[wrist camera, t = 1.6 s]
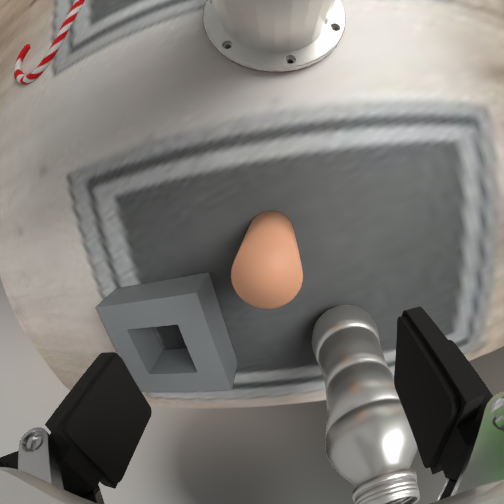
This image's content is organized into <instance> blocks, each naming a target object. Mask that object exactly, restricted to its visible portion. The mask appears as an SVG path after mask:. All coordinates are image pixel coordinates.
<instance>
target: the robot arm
mask: <svg viewBox="0 0 504 504" xmlns="http://www.w3.org/2000/svg"><path fill="white" fill-rule="evenodd" d="M345 20H346V18H345V12H344V8H343V5H342V3H341V1H340V0H207V2H206V4H205V7H204V13H203V21H204V27H205V30H206V32H207V35H208V37H209V39H210V40H211V42H212V43H213V45H214V46H215V47H216V48H217V49H218V50H219V51H220V52H221V53H222V54H223V55H225V56H226V57H227V58H229V59H230V60H232V61H234V62H236V63H238V64H240V65H243V66H246V67H249V68H252V69H256V70H263V71H276V72H283V71H291V70H297V69H301V68H304V67H308V66H310V65H312V64H314V63H316V62H319V61H321V60H322V59H323V58H325V57H326V56H327V55H329V54H330V53H331V52H332V51H333V49H334V48H335V47H336V46H337V44H338V43H339V41H340V39H341V37H342V35H343V32H344V29H345ZM332 29H335V30H336V31H334V30H332ZM228 46H231V48H229V49H226V48H227V47H228ZM289 60H291V61H293V63H292V64H289V63H288V62H287V61H289ZM394 385H395V389H396V392H397V394H398V397H399V399H400V402H401V404H402V407H403V409H404V412H405V414H406V417H407V420H408V422H409V425H410V428H411V430H412V433H413V436H414V439H415V441H416V444H417V447H418V450H419V453H420V456H421V459H422V461H423V464H424V466H425V468H429V467H430V468H431V471H432V474H435V473H437V472H440V471H442V470H443V471H444V474H445V477H446V478H448V479H447V481H446V483H445V486H444V488H443V490H442V492H441V494H440V496H439V498H438V499H437V501H436V502H434V503H430V504H504V392H501V393H498V394H497V395H495V396H494V397H493V395H492V394H491V393H490V391H489V390H488V388H487V387H486V385H485V384H484V382H483V381H482V379H481V378H480V377H479V375H478V374H477V372H476V371H475V370H474V368H473V367H472V366H471V364H470V363H469V361H468V360H467V359H466V357H465V356H464V355H463V353H462V352H461V351H460V349H459V348H458V347H457V346H456V344H455V343H454V342H453V341H451V340H448V339H447V338H446V337H445V336H444V334H443V333H442V332H441V331H440V329H439V328H438V327H437V325H436V324H435V323H434V322H433V321H432V319H431V318H430V317H429V316H428V314H427V313H426V312H425V311H424V310H423V308H421V307H416V308H413V309H409V310H405V311H403V314H402V316H401V317H398V320H397V345H396V361H395V374H394ZM150 417H151V407H150V405H149V404H148V402H147V401H146V399H145V397H144V396H143V394H142V392H141V391H140V389H139V387H138V386H137V384H136V382H135V381H134V379H133V377H132V375H131V374H130V372H129V370H128V368H127V366H126V364H125V363H124V361H123V359H122V358H121V357H120V356H119V355H118V354H117V353H114V352H111V353H101V354H100V355H99V356H98V357H97V358H96V360H95V361H94V362H93V363H92V365H91V366H90V367H89V368H88V369H87V371H86V372H85V373H84V374H83V376H82V377H81V378H80V379H79V381H78V382H77V383H76V385H75V386H74V387H73V388H72V390H71V391H70V392H69V394H68V395H67V396H66V397H65V399H64V400H63V401H62V403H61V404H60V405H59V407H58V408H57V409H56V410H55V412H54V413H53V415H52V416H51V417H50V419H49V420H48V421H47V423H46V424H45V425H46V426H47V428H48V429H49V430H50V431H51V434H50V435H49V434H48V433H47V431H46V430H45V429H43V428H33V429H31V430H29V431H28V432H26V433H25V434H24V435H23V437H22V438H21V440H20V443H19V451H17V452H14V453H11V454H9V455H6V456H3V457H1V458H0V504H104V501H103V498H102V495H101V492H100V488H99V486H98V483H99V481H100V482H101V483H102V484H103V485H105V486H108V487H112V488H116V486H117V484H118V482H120V481H121V480H122V478H123V476H124V474H125V471H126V469H127V467H128V465H129V462H130V460H131V458H132V456H133V454H134V451H135V449H136V447H137V445H138V443H139V440H140V438H141V436H142V434H143V432H144V430H145V427H146V425H147V423H148V421H149V419H150Z"/></svg>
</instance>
